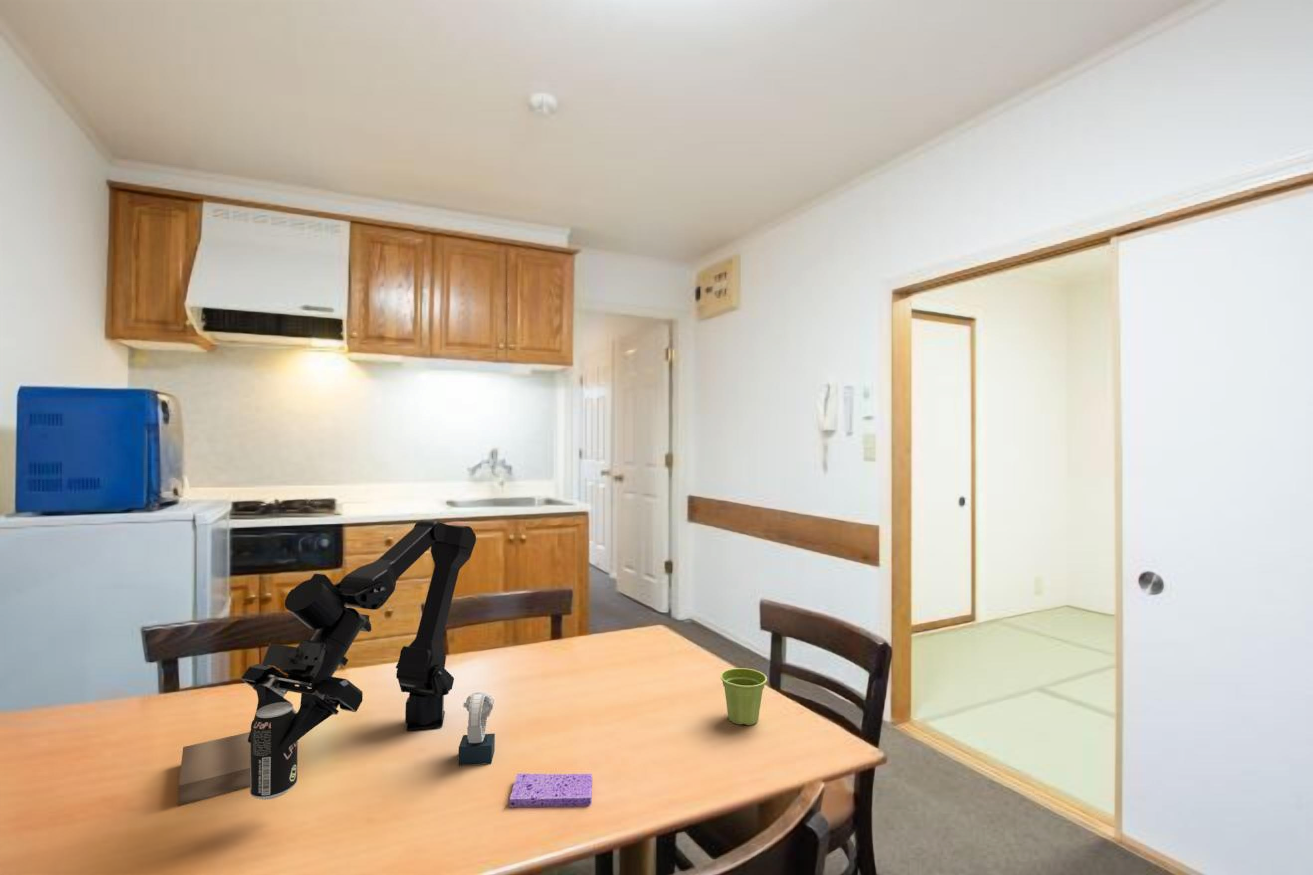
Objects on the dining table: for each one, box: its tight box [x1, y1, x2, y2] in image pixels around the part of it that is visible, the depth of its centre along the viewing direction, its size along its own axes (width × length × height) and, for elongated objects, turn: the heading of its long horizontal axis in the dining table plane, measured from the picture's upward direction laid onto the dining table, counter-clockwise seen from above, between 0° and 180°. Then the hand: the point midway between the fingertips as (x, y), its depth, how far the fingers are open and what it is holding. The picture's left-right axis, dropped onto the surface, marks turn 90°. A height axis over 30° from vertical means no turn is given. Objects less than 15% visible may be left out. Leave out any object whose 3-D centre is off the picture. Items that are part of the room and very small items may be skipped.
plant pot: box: [719, 667, 768, 726], centre depth 122 cm, size 9×9×9 cm
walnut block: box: [177, 731, 251, 807], centre depth 100 cm, size 14×14×3 cm
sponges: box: [509, 772, 593, 808], centre depth 95 cm, size 7×13×2 cm, turn 93°
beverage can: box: [249, 701, 299, 801], centre depth 86 cm, size 6×6×12 cm
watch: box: [457, 691, 496, 766], centre depth 105 cm, size 6×8×11 cm
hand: (265, 746), depth 85 cm, fingers closed on beverage can, 5 cm apart
